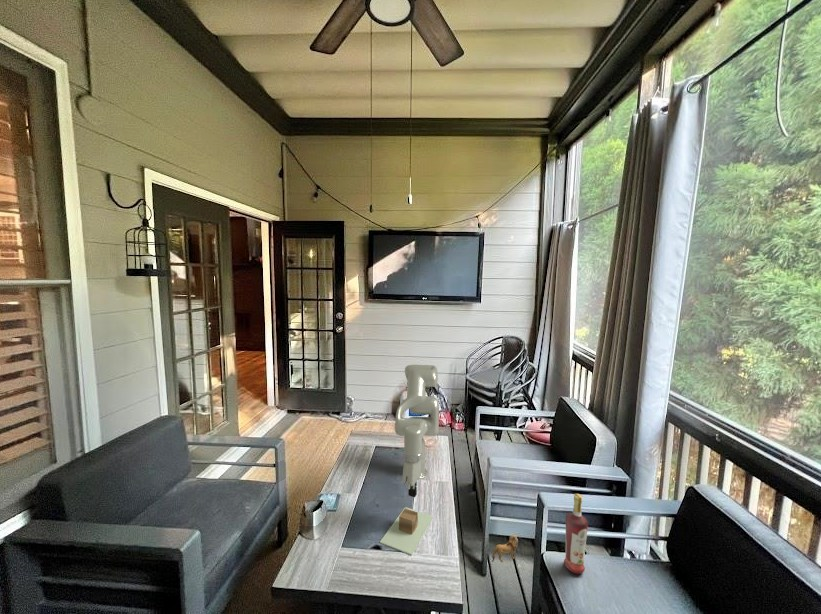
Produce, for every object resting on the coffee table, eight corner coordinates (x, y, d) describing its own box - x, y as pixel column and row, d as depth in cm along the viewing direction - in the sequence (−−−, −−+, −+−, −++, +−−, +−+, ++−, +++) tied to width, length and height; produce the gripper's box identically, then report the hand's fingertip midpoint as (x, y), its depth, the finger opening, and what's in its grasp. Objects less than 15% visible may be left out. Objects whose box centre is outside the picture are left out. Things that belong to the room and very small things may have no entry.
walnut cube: (405, 507, 146) (399, 516, 140) (418, 511, 143) (412, 520, 138) (405, 520, 146) (399, 530, 141) (417, 525, 144) (412, 534, 138)
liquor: (573, 579, 119) (577, 504, 117) (558, 562, 126) (562, 491, 124) (589, 574, 121) (594, 500, 119) (574, 558, 128) (578, 488, 126)
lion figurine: (512, 548, 133) (512, 530, 132) (520, 556, 129) (521, 538, 129) (488, 559, 128) (489, 540, 127) (496, 567, 124) (496, 549, 123)
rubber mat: (405, 508, 155) (405, 507, 155) (433, 517, 149) (433, 516, 149) (379, 543, 134) (379, 541, 134) (411, 555, 129) (411, 554, 129)
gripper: (412, 445, 152) (411, 483, 154) (397, 462, 138) (396, 503, 140) (427, 449, 148) (427, 487, 151) (413, 467, 135) (413, 509, 137)
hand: (412, 495), depth 145 cm, fingers closed
